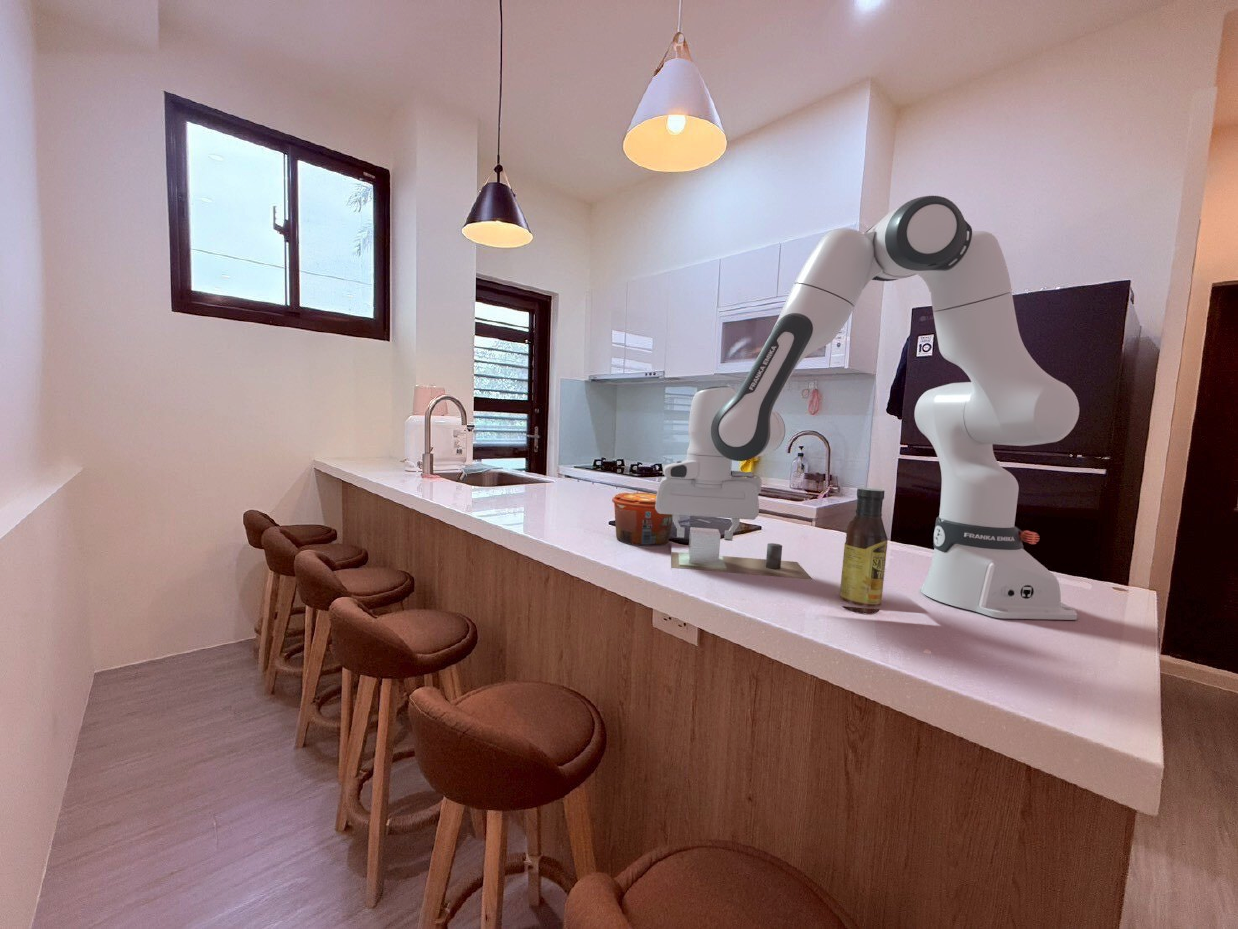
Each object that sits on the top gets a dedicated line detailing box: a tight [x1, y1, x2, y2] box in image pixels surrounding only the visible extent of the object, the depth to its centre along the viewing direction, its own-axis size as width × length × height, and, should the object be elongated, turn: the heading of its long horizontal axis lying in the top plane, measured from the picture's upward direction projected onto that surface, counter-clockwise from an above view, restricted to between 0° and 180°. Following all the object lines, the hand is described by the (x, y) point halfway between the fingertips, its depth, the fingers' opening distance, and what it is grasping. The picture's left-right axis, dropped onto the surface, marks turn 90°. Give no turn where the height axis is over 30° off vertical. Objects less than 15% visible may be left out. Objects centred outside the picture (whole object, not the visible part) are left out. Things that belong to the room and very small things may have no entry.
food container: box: [611, 492, 673, 547], centre depth 126 cm, size 16×16×11 cm
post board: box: [670, 542, 813, 580], centre depth 102 cm, size 26×12×6 cm, turn 84°
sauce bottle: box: [839, 487, 888, 615], centre depth 84 cm, size 6×6×20 cm
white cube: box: [688, 526, 721, 565], centre depth 103 cm, size 6×6×6 cm
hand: (704, 538), depth 103 cm, fingers open, 8 cm apart
